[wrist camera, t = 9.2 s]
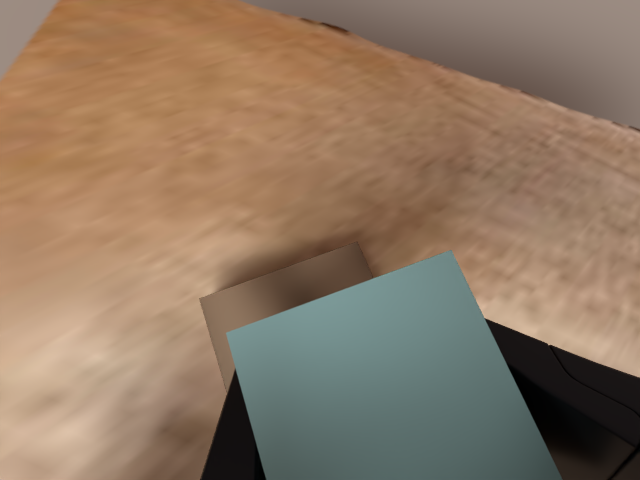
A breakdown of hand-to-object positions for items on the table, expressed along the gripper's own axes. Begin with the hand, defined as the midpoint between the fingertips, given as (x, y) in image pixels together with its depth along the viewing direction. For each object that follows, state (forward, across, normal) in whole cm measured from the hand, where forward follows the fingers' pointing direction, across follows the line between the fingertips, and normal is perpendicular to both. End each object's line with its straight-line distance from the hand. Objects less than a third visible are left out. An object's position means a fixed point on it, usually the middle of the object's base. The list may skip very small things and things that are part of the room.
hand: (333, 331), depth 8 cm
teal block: (+4, 0, +6) cm, 7 cm away
